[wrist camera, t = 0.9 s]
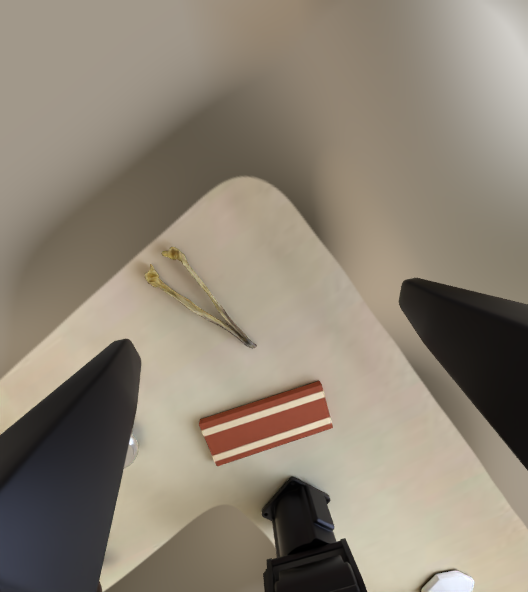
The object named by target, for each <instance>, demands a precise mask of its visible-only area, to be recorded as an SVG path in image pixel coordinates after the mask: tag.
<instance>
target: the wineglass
mask: <svg viewBox="0 0 528 592" xmlns="http://www.w3.org/2000/svg"><path fill="white" fill-rule="evenodd" d="M473 586H474V580H473V579H472V578H471V577H470V576H468V575H466V574H464V573H461V572H459V571H457V570H456V571H450V572H445V573H439V574H436V575H435V576H434V577H433V578H432V579H431V580H430V581H429V582H428V583H427V584H426V585H425V586H424V587H423V588H422V590H421V592H472V590H473Z"/></svg>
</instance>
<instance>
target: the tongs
mask: <svg viewBox="0 0 528 592" xmlns="http://www.w3.org/2000/svg"><path fill="white" fill-rule="evenodd" d="M162 255H163V256H165V257H169V258H170V259H173V260H176V259H177V260H179V261H181V262H182V264H183V265H184V266H185V267H186V269H187V270H188V271H189V272H190V274H191V275H192V276H193V277H194V279H195V280H196V281H197V282H198V284H199V285H200V286H201V287H202V288H203V289H204V291H205V292H206V293H207V294H208V296H209V297H210V298H211V300H212V302H213V303H214V305H215V306H216V308H217V310H218V311H219V313H220V314H221V315H222V317H223V318H224V319H225V320H226V321H227V322H228V323H229V324H230V325H231V326H230V325H228V324H227V323H224V322H223V321H221V320H219V319H217V318H215V317H214V316H212V315H210V314H208V313H207V312H205V311H203V310H202V309H200V308H199V307H197V306H196V305H195V304H193V303H192V301H190V300H189V299H187V298H185V297H183V296H181V295H180V294H178V293H176V292H175V291H174V290H172V289H171V288H169V287H168V286H167V285H166V284H164V283H163V282H162V281H161V280H160V279H159V278H158V277H159V275H158V273H157V272H156V271H155V270H154V267H153V265H152V264H150V270H149V271H148V272H147V273H145V279H146V280H147V281H148V283H149V284H151V285H152V286H153V287H159V288H161V289H162V290H164V291H165V292H166V293H167V294H169V295H170V296H172V297H173V298H175V299H176V300H178V301H179V302H180V303H181V304H183V305H184V306H185V307H187V308H188V309H190V310H191V311H193V312H194V313H196V314H198V315H200V316H201V317H203V318H205V319H207V320H209V321H211V322H213V323H215V324H217V325H219V326H220V327H222V328H224V329H225V330H227V331H229V332H230V333H231V334H233V335H234V336H235V337H237V338H238V339H239V340H240V341H241V342H243V343H244V344H245V345H246V346H248V347H249V348H252V349H253V348H255V347H256V346H257V345H255V344H254V343H253V342H252V341H251V340H250V339H248V337H247V336H246V335H245V334H244V333H243V332H242V331H241V330H240V329H239V328H238V327H237V326H236V325H235V323H234V322H233V321H232V320H231V319H230V317H229V316H228V315H227V313H226V312H225V311H224V309H223V308H222V307H221V306H220V304H219V303H218V302H217V301H216V300H215V298H214V297H213V296H212V294H211V293H210V291H209V290H208V288H207V287H206V286H205V285H204V283H203V282H202V281H201V280H200V278H199V277H198V276H197V275H196V273H195V272H194V271H193V270H192V268H191V267H190V266H189V264H188V262H187V261H186V258H185V255H184V254H183V253H181V252H180V250H178V249H177V248H175V247H171V248H170V249H169V251H163V252H162Z"/></svg>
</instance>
